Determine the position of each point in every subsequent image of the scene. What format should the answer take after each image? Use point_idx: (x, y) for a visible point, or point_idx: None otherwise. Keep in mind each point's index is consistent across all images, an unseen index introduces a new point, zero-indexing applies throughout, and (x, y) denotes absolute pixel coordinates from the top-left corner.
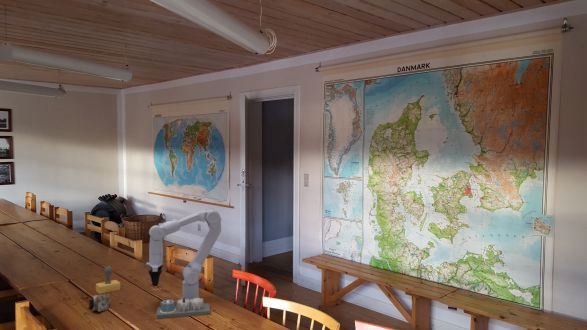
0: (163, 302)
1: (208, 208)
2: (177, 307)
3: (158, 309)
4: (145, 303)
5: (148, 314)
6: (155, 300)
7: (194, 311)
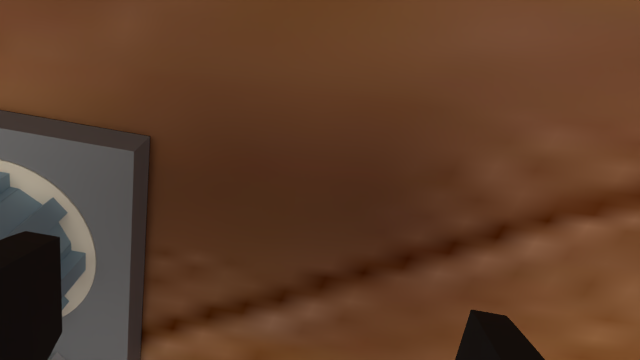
0: None
1: None
2: None
3: (46, 149)
4: (471, 11)
5: (43, 13)
6: (527, 154)
7: None
